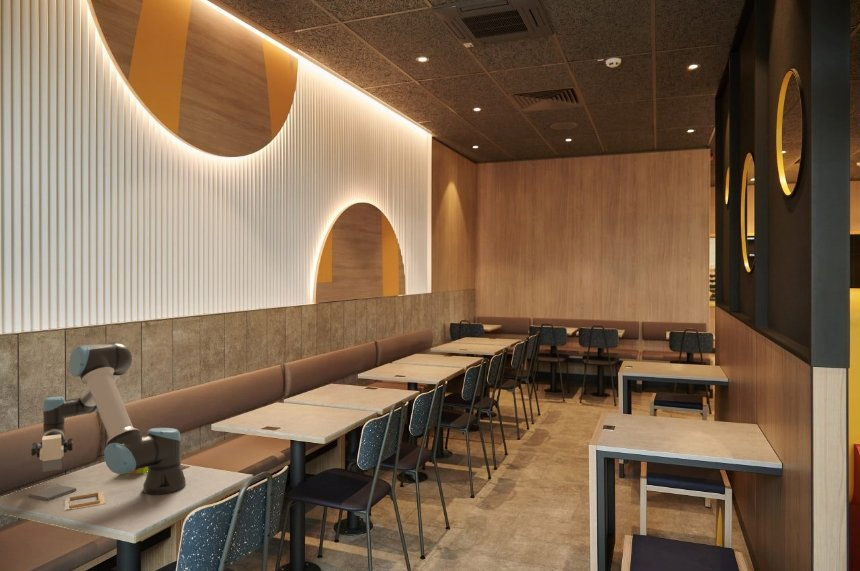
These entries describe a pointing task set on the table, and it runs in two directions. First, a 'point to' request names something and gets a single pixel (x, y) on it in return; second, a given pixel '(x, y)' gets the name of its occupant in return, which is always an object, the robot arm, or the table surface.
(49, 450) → the beige and grey block
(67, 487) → the slate board
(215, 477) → the table surface
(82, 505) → the tan square frame
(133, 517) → the table surface
